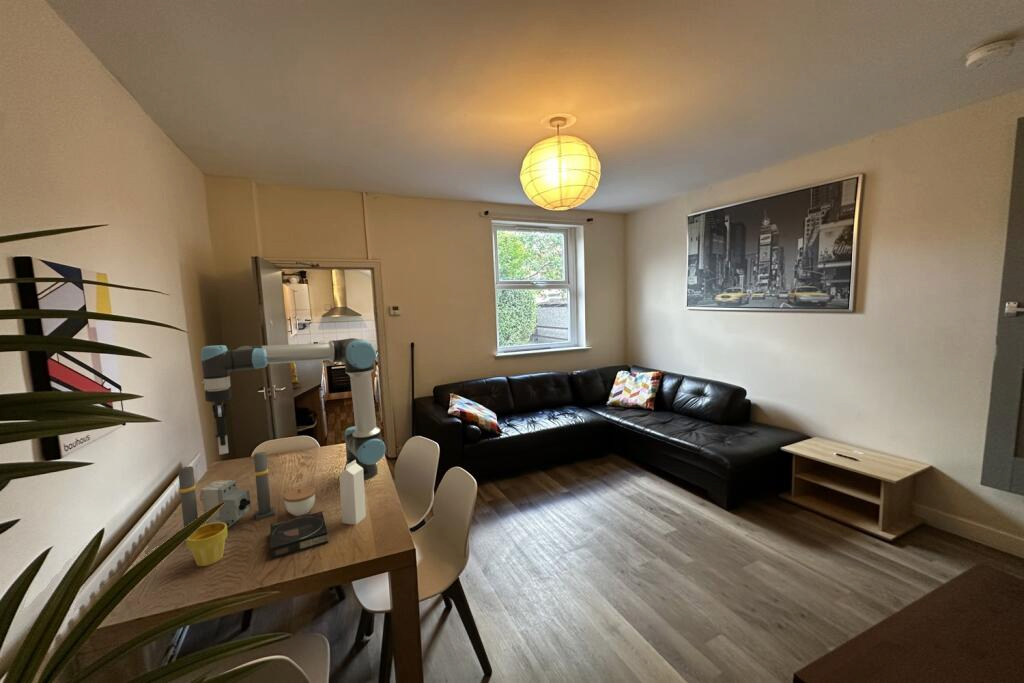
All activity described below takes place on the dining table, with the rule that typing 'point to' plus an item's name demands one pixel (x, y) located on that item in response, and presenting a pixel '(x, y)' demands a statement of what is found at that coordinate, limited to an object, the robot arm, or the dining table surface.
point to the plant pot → (208, 543)
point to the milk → (352, 494)
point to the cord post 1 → (187, 494)
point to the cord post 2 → (262, 487)
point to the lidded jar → (299, 500)
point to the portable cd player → (297, 534)
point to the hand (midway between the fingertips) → (223, 453)
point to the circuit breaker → (228, 493)
